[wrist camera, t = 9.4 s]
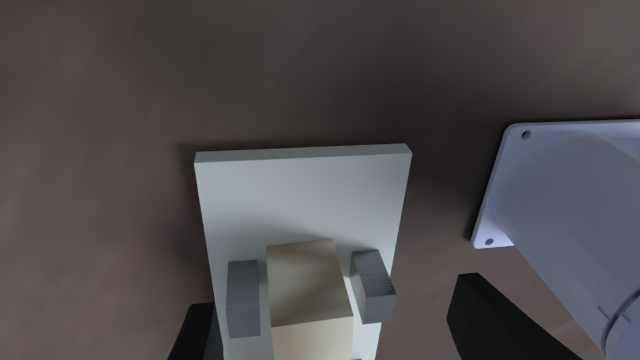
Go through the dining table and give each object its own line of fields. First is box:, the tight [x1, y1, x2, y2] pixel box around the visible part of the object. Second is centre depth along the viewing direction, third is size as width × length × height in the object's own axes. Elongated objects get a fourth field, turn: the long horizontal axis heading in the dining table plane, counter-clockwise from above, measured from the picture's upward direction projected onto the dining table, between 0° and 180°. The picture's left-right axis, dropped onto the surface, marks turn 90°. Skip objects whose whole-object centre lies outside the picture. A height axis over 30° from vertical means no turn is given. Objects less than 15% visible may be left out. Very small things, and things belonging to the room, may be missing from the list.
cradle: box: [194, 143, 412, 360], centre depth 24 cm, size 10×24×4 cm, turn 178°
